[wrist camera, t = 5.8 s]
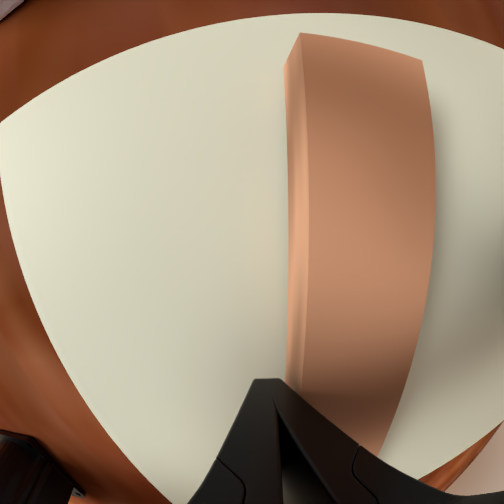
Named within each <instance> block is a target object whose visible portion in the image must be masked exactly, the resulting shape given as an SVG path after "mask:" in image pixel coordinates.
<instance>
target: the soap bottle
mask: <svg viewBox="0 0 504 504" xmlns="http://www.w3.org/2000/svg"><path fill="white" fill-rule="evenodd" d="M23 1H24V0H0V20H1V19H3V18H4V17H5V16H6V15H7V14H8V13H10V12H11V11H12V10H13V9H15V8H16V7H17V6H18V5H20V4H21V3H22V2H23Z"/></svg>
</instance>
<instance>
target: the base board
mask: <svg viewBox="0 0 504 504" xmlns="http://www.w3.org/2000/svg"><path fill="white" fill-rule="evenodd" d="M299 33H309V34H317V35H323V36H330V37H336V38H341V39H346V40H351V41H356V42H361V43H365V44H369V45H373V46H377V47H381V48H385V49H388V50H392V51H395V52H398V53H402V54H405V55H408V56H411V57H414V58H417V59H420V60H422V62H423V67H424V72H425V77H426V82H427V88H428V94H429V101H430V108H431V116H432V125H433V135H434V148H435V169H436V208H435V229H434V243H433V254H432V263H431V271H430V278H429V285H428V292H427V298H426V303H425V309H424V314H423V319H422V324H421V328H420V333H419V337H418V341H417V345H416V349H415V353H414V357H413V361H412V364H411V368H410V371H409V375H408V378H407V381H406V384H405V387H404V390H403V393H402V396H401V399H400V402H399V405H398V408H397V411H396V413H395V416H394V418H393V421H392V424H391V426H390V429H389V431H388V433H387V436H386V438H385V440H384V443H383V445H382V447H381V450H380V452H379V454H378V456H377V457H378V458H380V459H381V460H383V461H384V462H386V463H387V464H389V465H391V466H392V467H394V468H396V469H398V470H399V471H401V472H403V473H405V474H407V475H409V476H411V477H413V478H415V479H417V480H418V479H419V478H421V477H423V476H425V475H427V474H428V473H430V472H432V471H434V470H435V469H437V468H439V467H440V466H442V465H444V464H445V463H447V462H448V461H450V460H451V459H453V458H454V457H456V456H457V455H459V454H460V453H462V452H463V451H465V450H466V449H468V448H469V447H470V446H472V445H473V444H474V443H476V442H477V441H478V440H480V439H481V438H482V437H484V436H485V435H486V434H487V433H489V432H490V431H491V430H492V429H494V428H495V427H496V426H497V425H498V424H500V423H501V422H502V421H503V420H504V49H502V48H499V47H497V46H494V45H492V44H489V43H487V42H484V41H481V40H478V39H476V38H473V37H470V36H467V35H463V34H460V33H457V32H453V31H450V30H446V29H443V28H439V27H435V26H430V25H426V24H421V23H416V22H411V21H406V20H400V19H393V18H386V17H378V16H369V15H356V14H337V13H305V14H285V15H273V16H263V17H255V18H248V19H241V20H235V21H229V22H223V23H218V24H213V25H209V26H204V27H200V28H196V29H192V30H188V31H184V32H180V33H177V34H173V35H170V36H167V37H164V38H160V39H157V40H154V41H151V42H148V43H145V44H143V45H140V46H137V47H135V48H132V49H129V50H127V51H124V52H122V53H119V54H117V55H115V56H112V57H110V58H108V59H105V60H103V61H101V62H99V63H97V64H95V65H92V66H90V67H88V68H86V69H84V70H82V71H80V72H78V73H77V74H75V75H73V76H71V77H69V78H67V79H65V80H64V81H62V82H60V83H58V84H57V85H55V86H53V87H52V88H50V89H48V90H47V91H45V92H44V93H42V94H40V95H39V96H37V97H36V98H34V99H33V100H31V101H30V102H28V103H27V104H25V105H24V106H22V107H21V108H20V109H18V110H17V111H15V112H14V113H13V114H11V115H10V116H9V117H7V118H6V119H5V120H3V121H2V122H1V123H0V176H1V183H2V190H3V196H4V201H5V207H6V212H7V217H8V221H9V226H10V230H11V234H12V238H13V242H14V245H15V249H16V252H17V256H18V259H19V262H20V266H21V269H22V272H23V275H24V278H25V281H26V284H27V286H28V289H29V292H30V294H31V297H32V300H33V302H34V305H35V307H36V310H37V312H38V314H39V317H40V319H41V321H42V323H43V326H44V328H45V330H46V332H47V334H48V336H49V339H50V341H51V343H52V345H53V347H54V349H55V351H56V353H57V354H58V356H59V358H60V360H61V362H62V364H63V366H64V367H65V369H66V371H67V373H68V374H69V376H70V378H71V380H72V381H73V383H74V385H75V386H76V388H77V389H78V391H79V393H80V394H81V396H82V397H83V399H84V400H85V402H86V404H87V405H88V406H89V408H90V409H91V411H92V412H93V414H94V415H95V417H96V418H97V419H98V421H99V422H100V424H101V425H102V426H103V428H104V429H105V430H106V432H107V433H108V434H109V436H110V437H111V438H112V439H113V441H114V442H115V443H116V444H117V446H118V447H119V448H120V449H121V451H122V452H123V453H124V454H125V455H126V456H127V458H128V459H129V460H130V461H131V462H132V463H133V464H134V466H135V467H136V468H137V469H138V470H139V471H140V472H141V473H142V474H143V475H144V476H145V477H146V478H147V480H148V481H149V482H150V483H151V484H152V485H153V486H154V487H155V488H156V489H157V490H158V491H159V492H161V493H162V494H163V495H164V496H165V497H166V498H167V499H168V500H169V501H170V502H171V503H172V504H187V503H188V502H189V500H190V499H191V497H192V496H193V495H194V493H195V492H196V491H197V489H198V488H199V487H200V485H201V483H202V482H203V480H204V478H205V477H206V475H207V473H208V471H209V470H210V468H211V466H212V464H213V462H214V460H216V456H217V455H218V453H219V451H220V449H221V447H222V445H223V443H224V441H225V438H226V436H227V434H228V432H229V430H230V428H231V426H232V424H233V422H234V420H235V418H236V416H237V414H238V412H239V409H240V407H241V405H242V403H243V401H244V399H245V397H246V394H247V392H248V390H249V388H250V386H251V383H252V381H253V380H254V379H256V378H280V379H281V380H283V381H284V382H285V370H286V346H287V313H288V165H287V132H286V108H285V88H284V70H283V67H284V65H285V62H286V60H287V58H288V56H289V54H290V52H291V50H292V47H293V45H294V43H295V41H296V39H297V37H298V35H299Z"/></svg>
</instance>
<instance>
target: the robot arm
mask: <svg viewBox="0 0 504 504" xmlns="http://www.w3.org/2000/svg"><path fill="white" fill-rule="evenodd" d="M71 495H72V496H77V497H81V498H85V495H86V493H85V492H84V491H83V490H82V489H81V488H80V487H79V486H78V485H77V484H76V483H75V482H73V481H72V480H71V479H70V478H69V477H68V476H67V475H66V474H65V473H64V472H63V471H62V470H61V469H60V468H59V467H58V466H57V465H56V464H55V463H54V461H53V460H52V459H51V458H50V457H49V456H48V455H47V454H46V453H45V452H44V450H43V449H42V448H41V447H40V446H39V445H38V444H37V442H36V441H35V440H33V439H32V438H30V437H28V436H23V435H18V434H14V433H9V432H5V431H1V430H0V504H68V502H69V499H70V497H71ZM187 504H504V491H500V492H494V493H487V494H480V495H471V496H459V495H453V494H449V493H445V492H443V491H440V490H438V489H436V488H434V487H431V486H429V485H427V484H425V483H423V482H421V481H419V480H417V479H415V478H413V477H411V476H409V475H407V474H405V473H403V472H401V471H399V470H398V469H396V468H394V467H392V466H391V465H389V464H387V463H386V462H384V461H383V460H381V459H380V458H378V457H377V456H375V455H374V454H372V453H371V452H370V451H368V450H367V449H366V448H364V447H363V446H361V445H360V446H359V443H357V442H356V441H355V440H353V439H352V438H351V437H350V436H348V435H347V434H346V433H345V432H343V431H342V430H341V429H339V428H338V427H337V426H336V425H334V424H333V423H332V422H331V421H330V420H328V419H327V418H326V417H325V416H323V415H322V414H321V413H320V412H319V411H317V410H316V409H315V408H314V407H313V406H311V405H310V404H309V403H308V402H307V401H306V400H304V399H303V398H302V397H301V396H300V395H299V394H297V393H296V392H295V391H294V390H293V389H292V388H291V387H289V386H288V385H287V384H286V383H285V382H284V381H283V380H281V379H280V378H256V379H254V380H253V381H252V383H251V386H250V388H249V390H248V392H247V394H246V397H245V399H244V401H243V403H242V405H241V407H240V409H239V412H238V414H237V416H236V418H235V420H234V422H233V424H232V426H231V428H230V430H229V432H228V434H227V436H226V438H225V441H224V443H223V445H222V447H221V449H220V451H219V453H218V455H217V456H216V460H214V462H213V464H212V466H211V468H210V470H209V471H208V473H207V475H206V477H205V478H204V480H203V482H202V483H201V485H200V487H199V488H198V489H197V491H196V492H195V493H194V495H193V496H192V497H191V499H190V500H189V502H188V503H187Z"/></svg>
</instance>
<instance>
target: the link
mask: <svg viewBox="0 0 504 504" xmlns="http://www.w3.org/2000/svg"><path fill="white" fill-rule="evenodd" d="M283 70H284V88H285V108H286V132H287V165H288V313H287V346H286V370H285V383H286V384H287V385H288V386H289V387H291V388H292V389H293V390H294V391H295V392H296V393H297V394H299V395H300V396H301V397H302V398H303V399H304V400H306V401H307V402H308V403H309V404H310V405H311V406H313V407H314V408H315V409H316V410H317V411H319V412H320V413H321V414H322V415H323V416H325V417H326V418H327V419H328V420H330V421H331V422H332V423H333V424H334V425H336V426H337V427H338V428H339V429H341V430H342V431H343V432H345V433H346V434H347V435H348V436H350V437H351V438H352V439H353V440H355V441H356V442H357V443H359V446H360V445H361V446H363V447H364V448H366V449H367V450H368V451H370V452H371V453H372V454H374V455H375V456H378V454H379V452H380V450H381V447H382V445H383V443H384V440H385V438H386V436H387V433H388V431H389V429H390V426H391V424H392V421H393V418H394V416H395V413H396V411H397V408H398V405H399V402H400V399H401V396H402V393H403V390H404V387H405V384H406V381H407V378H408V375H409V371H410V368H411V364H412V361H413V357H414V353H415V349H416V345H417V341H418V337H419V333H420V328H421V324H422V319H423V314H424V309H425V303H426V298H427V292H428V285H429V278H430V271H431V263H432V254H433V243H434V229H435V208H436V169H435V148H434V135H433V125H432V116H431V108H430V101H429V94H428V88H427V82H426V77H425V72H424V67H423V62H422V60H420V59H417V58H414V57H411V56H408V55H405V54H402V53H398V52H395V51H392V50H388V49H385V48H381V47H377V46H373V45H369V44H365V43H361V42H356V41H351V40H346V39H341V38H336V37H330V36H323V35H317V34H309V33H299V35H298V37H297V39H296V41H295V43H294V45H293V47H292V50H291V52H290V54H289V56H288V58H287V60H286V62H285V65H284V67H283Z"/></svg>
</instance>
